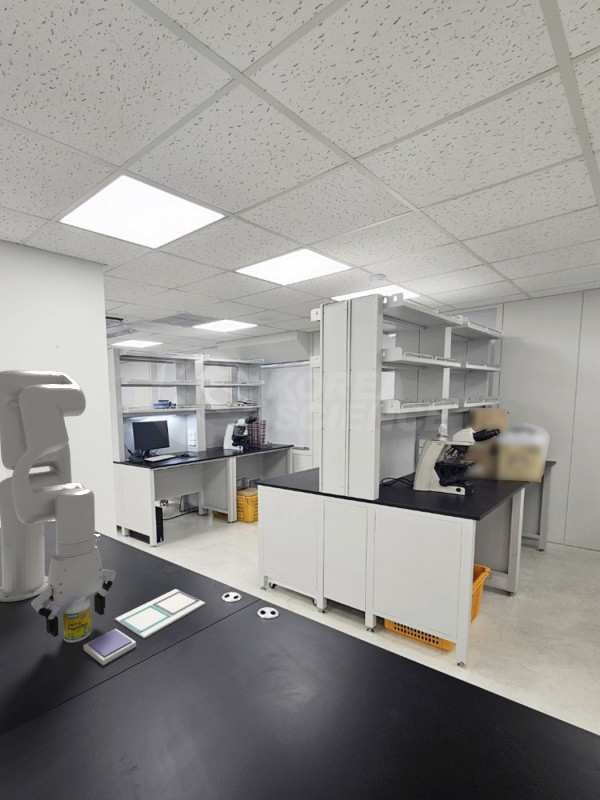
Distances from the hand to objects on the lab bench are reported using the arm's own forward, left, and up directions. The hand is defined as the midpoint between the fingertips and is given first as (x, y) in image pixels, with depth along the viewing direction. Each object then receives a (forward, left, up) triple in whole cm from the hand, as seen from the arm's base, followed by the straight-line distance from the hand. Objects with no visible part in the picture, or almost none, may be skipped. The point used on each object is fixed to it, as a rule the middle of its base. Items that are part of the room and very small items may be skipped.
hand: (77, 623), depth 86 cm
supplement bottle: (0, 0, -3) cm, 3 cm away
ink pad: (+10, +2, -3) cm, 11 cm away
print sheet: (+7, +17, -3) cm, 18 cm away
